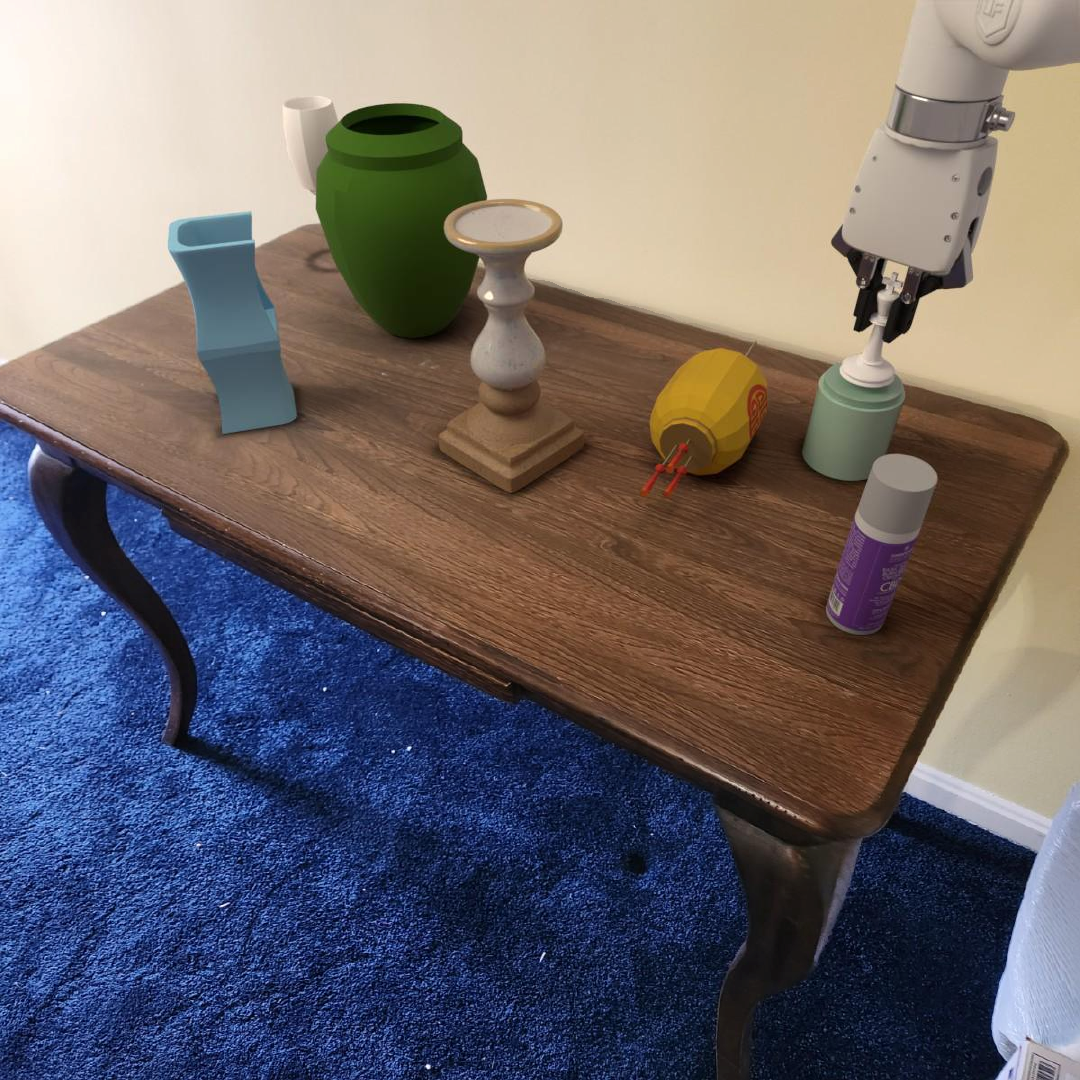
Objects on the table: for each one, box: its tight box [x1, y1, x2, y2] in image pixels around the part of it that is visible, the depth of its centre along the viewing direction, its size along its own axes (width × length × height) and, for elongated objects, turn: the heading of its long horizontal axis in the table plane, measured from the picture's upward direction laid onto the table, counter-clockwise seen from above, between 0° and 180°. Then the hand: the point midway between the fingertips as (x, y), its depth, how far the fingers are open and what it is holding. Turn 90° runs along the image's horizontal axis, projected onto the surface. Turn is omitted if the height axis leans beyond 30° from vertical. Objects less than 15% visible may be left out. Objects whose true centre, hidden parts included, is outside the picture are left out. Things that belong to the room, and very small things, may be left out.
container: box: [825, 453, 938, 636], centre depth 67 cm, size 5×5×15 cm
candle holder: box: [438, 198, 585, 494], centre depth 81 cm, size 11×11×24 cm
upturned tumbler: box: [801, 362, 906, 482], centre depth 85 cm, size 8×8×9 cm
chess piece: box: [840, 271, 905, 388], centre depth 78 cm, size 5×5×10 cm
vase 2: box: [167, 210, 298, 435], centre depth 88 cm, size 8×8×20 cm
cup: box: [282, 95, 339, 196], centre depth 116 cm, size 7×7×21 cm
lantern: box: [639, 340, 769, 499], centre depth 85 cm, size 10×10×30 cm
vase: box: [315, 102, 488, 339], centre depth 101 cm, size 20×20×24 cm
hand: (878, 330), depth 78 cm, fingers closed on chess piece
